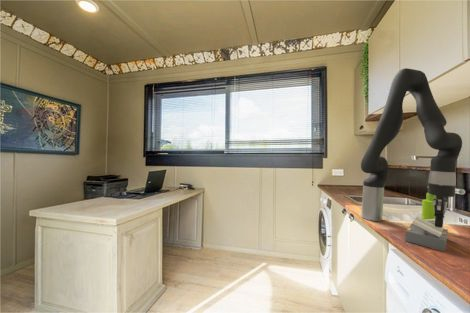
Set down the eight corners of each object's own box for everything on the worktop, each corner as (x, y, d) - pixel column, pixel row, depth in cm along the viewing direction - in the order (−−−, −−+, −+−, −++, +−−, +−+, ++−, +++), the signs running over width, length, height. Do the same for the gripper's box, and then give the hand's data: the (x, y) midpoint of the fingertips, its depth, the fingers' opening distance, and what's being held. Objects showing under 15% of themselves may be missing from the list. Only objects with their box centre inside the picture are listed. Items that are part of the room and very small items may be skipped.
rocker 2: (415, 218, 88) (417, 216, 87) (441, 231, 82) (443, 229, 81) (414, 220, 85) (416, 217, 85) (440, 233, 80) (442, 230, 79)
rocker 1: (417, 222, 92) (416, 219, 92) (442, 221, 86) (441, 218, 86) (416, 224, 89) (415, 221, 90) (442, 222, 84) (441, 219, 84)
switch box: (412, 230, 94) (412, 218, 94) (447, 238, 86) (448, 226, 86) (404, 240, 82) (405, 227, 82) (444, 251, 74) (445, 236, 73)
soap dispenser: (443, 231, 94) (446, 188, 94) (426, 229, 96) (429, 187, 95) (434, 227, 100) (437, 186, 100) (417, 225, 101) (420, 185, 101)
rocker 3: (413, 221, 84) (414, 219, 83) (440, 235, 78) (442, 232, 77) (412, 223, 81) (413, 220, 81) (439, 237, 76) (441, 234, 75)
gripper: (430, 180, 88) (427, 221, 88) (426, 182, 79) (423, 227, 80) (456, 183, 82) (453, 226, 83) (455, 185, 74) (451, 234, 74)
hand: (438, 226), depth 81 cm, fingers closed
